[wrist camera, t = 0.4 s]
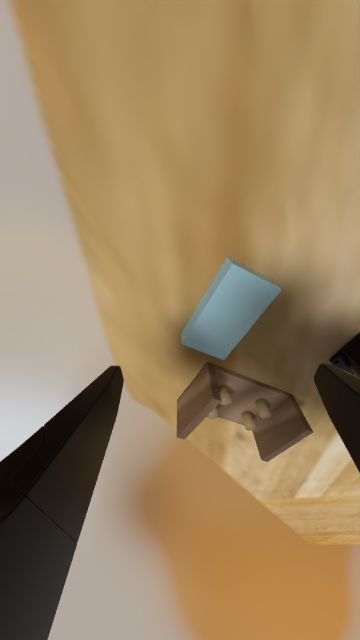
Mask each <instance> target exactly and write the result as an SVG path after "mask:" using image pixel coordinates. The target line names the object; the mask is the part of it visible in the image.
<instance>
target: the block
mask: <svg viewBox="0 0 360 640" xmlns="http://www.w3.org/2000/svg"><path fill="white" fill-rule="evenodd" d="M281 290H282V289H281V288H280V287H279V286H278V285H277V284H276V283H275V282H273V281H272V280H270V279H268V278H266V277H265V276H263V275H261V274H259V273H257V272H255V271H253V270H251V269H250V268H248V267H246V266H244V265H242V264H240V263H238V262H236V261H235V260H233V259H231V258H229V257H227V258H226V260H225V262H224V263H223V265H222V267H221V268H220V270H219V272H218V273H217V275H216V277H215V278H214V280H213V281H212V283H211V285H210V286H209V288H208V290H207V291H206V293H205V295H204V296H203V298H202V300H201V301H200V303H199V304H198V306H197V308H196V309H195V311H194V313H193V314H192V316H191V318H190V319H189V321H188V323H187V324H186V326H185V327H184V329H183V331H182V332H181V336H182V345H185V346H187V347H190V348H193V349H195V350H198V351H200V352H203V353H206V354H208V355H211V356H214V357H216V358H219V359H221V360H225V359H226V357H227V356H228V355H229V354H230V353H231V351H232V350H233V349H234V348H235V347H236V345H237V344H238V343H239V342H240V340H241V339H242V338H243V337H244V336H245V334H246V333H247V332H248V331H249V329H250V328H251V327H252V326H253V325H254V323H255V322H256V321H257V320H258V319H259V317H260V316H261V315H262V314H263V312H264V311H265V310H266V309H267V308H268V306H269V305H270V304H271V303H272V301H273V300H274V299H275V298H276V297H277V295H278V294H279V293H280V292H281Z"/></svg>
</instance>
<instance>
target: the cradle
mask: <svg viewBox="0 0 360 640" xmlns="http://www.w3.org/2000/svg"><path fill="white" fill-rule="evenodd" d="M206 417H208V418H210V419H214V418H217V417H220V418H223V419H226V420H229V421H232V422H236V423H239V424H242V425H245V428H246V430H252V431H253V434H254V438H255V441H256V444H257V447H258V450H259V454H260V457H261V460H263V461H266V462H268V461H269V460H271V459H273V458H274V457H276V456H277V455H279V454H280V453H282V452H283V451H285V450H286V449H288V448H290V447H291V446H293V445H294V444H296V443H297V442H299V441H300V440H302V439H304V438H305V437H307V436H308V435H310V434H311V433H313V431H312V429H311V427H310V425H309V424H308V422H307V420H306V418H305V416H304V415H303V413H302V411H301V409H300V408H299V406H298V404H297V402H296V400H295V399H294V397H293V395H291V394H288V393H286V392H283V391H280V390H278V389H275V388H273V387H270V386H267V385H265V384H262V383H260V382H257V381H254V380H252V379H249V378H247V377H244V376H241V375H239V374H236V373H234V372H231V371H228V370H226V369H223V368H221V367H218V366H215V365H213V364H210V363H208V362H207V363H206V364H205V366H204V367H203V368H202V369H201V371H200V372H199V373H198V374H197V376H196V377H195V378H194V380H193V381H192V382H191V383H190V385H189V386H188V387H187V388H186V390H185V391H184V392H183V394H182V395H181V396H180V397H179V399H178V400H177V438H181V439H185V438H186V437H187V436H188V435H189V434H190V433H191V432H192V431H193V430H194V429H195V428H196V427H197V426H198V425H199V424H200V423H201V422H202V421H203V420H204V419H205V418H206Z"/></svg>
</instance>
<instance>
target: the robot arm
mask: <svg viewBox="0 0 360 640" xmlns="http://www.w3.org/2000/svg"><path fill="white" fill-rule="evenodd" d="M330 362H331V363H332V364H329V363H324V364H320V365H319V366H318V369H317V371H316V373H315V376H314V382H315V384H316V387H317V389H318V391H319V394H320V396H321V398H322V401H323V403H324V406H325V408H326V410H327V412H328V415H329V417H330V419H331V421H332V422H333V424H334V426H335V428H336V430H337V432H338V433H339V435H340V437H341V439H342V441H343V443H344V445H345V446H346V448H347V450H348V452H349V454H350V456H351V457H352V459H353V461H354V463H355V465H356V467H357V468H358V470H359V472H360V380H359V379H360V335H359V336H357V337H356V338H355V339H354V340H353V341H351V342H350V343H349V344H348V345H347V346H345V347H344V348H343V349H342V350H341V351H339V352H338V353H337V354H336V355H334V356H333V357H332V358H331V359H330ZM334 365H335V366H334ZM336 366H337V367H336ZM338 367H339V368H338ZM340 368H341V369H343V370H346V371H348V372H350V373H352V374H354V375H356V376H357V377H358V378H359V379H357V378H355V377H354V376H352V375H350V374H348V373H347V372H345V371H343V370H341V369H340ZM123 382H124V379H123V375H122V371H121V367H120V366H110V367H109V368H108V369H107V370H105V371H104V372H103V373H102V374H101V375H100V376H99V377H98V378H97V379H95V380H94V381H93V382H92V383H91V384H90V385H89V386H88V387H86V388H85V389H84V390H83V391H82V392H81V393H80V394H78V395H77V396H76V397H75V398H74V399H73V400H72V401H71V402H69V403H68V404H67V405H66V406H65V407H64V408H63V409H62V410H60V411H59V412H58V413H57V414H56V415H55V416H54V417H53V418H51V419H50V420H49V421H48V422H47V423H46V424H45V425H44V426H42V427H41V428H40V429H39V430H38V431H37V432H36V433H34V434H33V435H32V436H31V437H30V438H29V439H27V440H26V441H25V442H24V443H23V444H22V445H20V446H19V447H18V448H17V449H16V450H14V451H13V452H12V453H11V454H9V455H8V456H7V457H6V458H4V459H3V460H2V461H1V462H0V640H47V639H48V636H49V633H50V629H51V626H52V623H53V620H54V617H55V613H56V610H57V607H58V604H59V601H60V597H61V594H62V591H63V587H64V585H65V581H66V578H67V575H68V572H69V568H70V565H71V562H72V559H73V555H74V552H75V549H76V546H77V542H78V539H79V536H80V533H81V530H82V526H83V523H84V520H85V516H86V513H87V510H88V507H89V504H90V501H91V497H92V494H93V491H94V488H95V485H96V481H97V478H98V475H99V472H100V468H101V465H102V462H103V459H104V456H105V452H106V449H107V446H108V443H109V440H110V436H111V433H112V430H113V427H114V423H115V420H116V417H117V413H118V408H119V403H120V398H121V393H122V388H123Z"/></svg>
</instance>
